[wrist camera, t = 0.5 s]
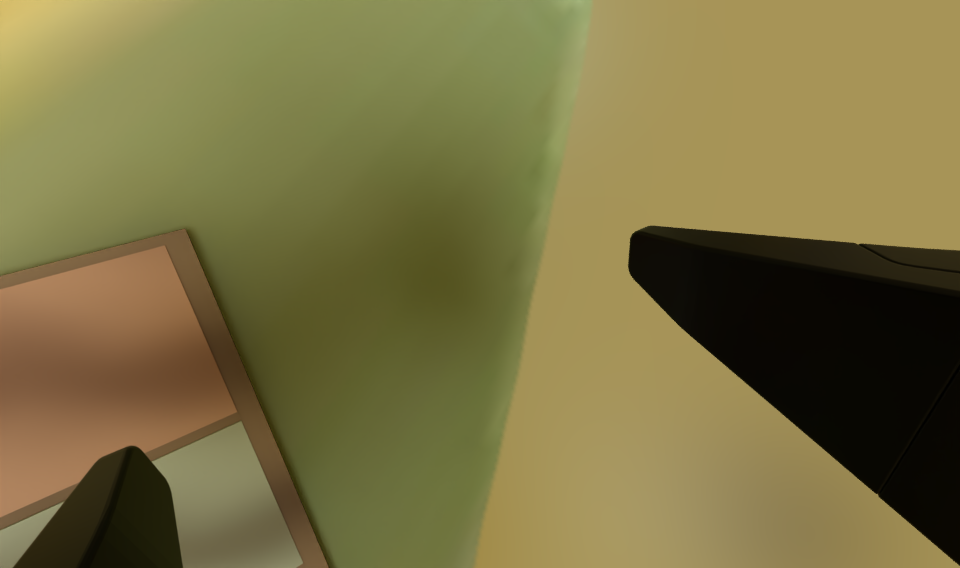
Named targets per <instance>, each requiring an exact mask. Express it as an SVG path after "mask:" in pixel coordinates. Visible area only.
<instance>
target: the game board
mask: <svg viewBox="0 0 960 568" xmlns="http://www.w3.org/2000/svg"><path fill="white" fill-rule="evenodd" d="M127 446H137V447H138V448H140V449H141V450H142V451H143V452H144V453H145V454H146V456H147V457H148V458H149V459H150V460H151V462H152V463H153V464H154V465H155V466H156V468H157V469H158V470H159V471H160V472H161V474H162V475H163V476H164V477H165V478H166V480H167V482H168V484H169V486H170V489H171V492H172V498H173V504H174V511H175V518H176V524H177V531H178V537H179V544H180V550H181V557H182V563H183V568H329V566H328V564H327V562H326V559H325V557H324V555H323V552H322V550H321V548H320V545H319V543H318V541H317V538H316V536H315V533H314V531H313V529H312V526H311V524H310V522H309V519H308V517H307V515H306V512H305V510H304V507H303V505H302V503H301V500H300V498H299V496H298V493H297V491H296V489H295V486H294V484H293V481H292V479H291V477H290V474H289V472H288V470H287V467H286V465H285V463H284V460H283V458H282V455H281V453H280V451H279V448H278V446H277V444H276V441H275V439H274V437H273V434H272V432H271V429H270V427H269V425H268V422H267V420H266V418H265V415H264V413H263V411H262V408H261V406H260V403H259V401H258V399H257V396H256V394H255V392H254V389H253V387H252V385H251V382H250V380H249V378H248V375H247V373H246V370H245V368H244V366H243V363H242V361H241V359H240V356H239V354H238V352H237V349H236V347H235V344H234V342H233V340H232V337H231V335H230V333H229V330H228V328H227V326H226V323H225V321H224V318H223V316H222V314H221V311H220V309H219V307H218V304H217V302H216V300H215V297H214V295H213V292H212V290H211V288H210V285H209V283H208V281H207V278H206V276H205V274H204V271H203V269H202V266H201V264H200V262H199V259H198V257H197V255H196V252H195V250H194V248H193V245H192V243H191V240H190V238H189V236H188V233H187V231H186V229H181V230H178V231H174V232H170V233H166V234H162V235H158V236H154V237H150V238H146V239H143V240H139V241H135V242H131V243H127V244H123V245H119V246H115V247H111V248H107V249H104V250H100V251H96V252H92V253H88V254H84V255H80V256H76V257H72V258H69V259H65V260H61V261H57V262H53V263H49V264H45V265H41V266H37V267H34V268H30V269H26V270H22V271H18V272H14V273H10V274H6V275H2V276H0V568H13V566H14V565H15V564H16V563H17V561H18V560H19V559H20V558H21V556H22V555H23V554H24V552H25V551H26V550H27V549H28V547H29V546H30V545H31V544H32V542H33V541H34V540H35V538H36V537H37V536H38V535H39V533H40V532H41V531H42V529H43V528H44V527H45V526H46V524H47V523H48V522H49V521H50V519H51V518H52V517H53V515H54V514H55V513H56V512H57V510H58V509H59V508H60V507H61V505H62V504H63V503H64V501H65V500H66V499H67V498H68V496H69V495H70V494H71V493H72V491H73V490H74V489H75V487H76V486H77V485H78V484H79V482H80V481H81V480H82V478H83V477H84V476H85V475H86V473H87V472H88V471H89V470H90V468H91V467H92V466H93V464H94V463H95V462H96V461H97V460H98V459H100V458H101V457H103V456H105V455H108V454H110V453H113V452H115V451H117V450H120V449H122V448H124V447H127Z"/></svg>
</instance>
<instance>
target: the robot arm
mask: <svg viewBox="0 0 960 568" xmlns="http://www.w3.org/2000/svg"><path fill="white" fill-rule="evenodd" d="M628 263H629V264H628V268H629V272H630V274H631V276H632V278H633V279H634V280H635V281H636V282H637V283H638V284H639V285H640V286H641V287H642V288H643V289H644V290H645V291H646V292H647V293H648V294H649V295H650V296H651V297H652V298H653V299H654V301H655V302H656V303H657V304H658V305H659V306H660V307H661V308H662V309H663V310H664V311H665V312H666V313H667V314H668V315H669V316H670V317H671V318H672V319H673V320H674V321H675V322H676V323H677V324H678V325H679V326H680V327H681V328H682V329H683V330H685V331H686V332H687V333H688V334H689V335H690V336H691V337H693V338H694V339H695V340H696V341H697V342H698V343H700V344H701V345H702V346H703V347H704V348H705V349H707V350H708V351H709V352H710V353H711V354H712V355H714V356H715V357H716V358H717V359H718V360H719V361H721V362H722V363H723V364H724V365H725V366H727V367H728V368H729V369H730V370H731V371H732V372H734V373H735V374H736V375H737V376H738V377H740V378H741V379H742V380H743V381H744V382H745V383H746V384H748V385H749V386H750V387H751V388H753V389H754V390H755V391H756V392H757V393H758V394H760V396H762V397H763V398H764V399H765V400H766V401H768V402H769V403H770V404H771V405H772V406H774V407H775V408H776V409H777V410H778V411H780V412H781V413H782V414H783V415H784V416H785V417H786V418H788V419H789V420H790V421H791V422H792V423H793V424H795V425H796V426H797V427H798V428H799V429H800V430H802V431H803V432H804V433H805V434H806V435H808V436H809V437H810V438H811V439H812V440H813V441H814V442H816V443H817V444H818V445H819V446H821V447H822V448H823V449H824V450H825V451H826V452H827V453H829V454H830V455H831V456H832V457H833V458H834V459H836V460H837V461H838V462H839V463H840V464H842V465H843V466H844V467H845V468H846V469H847V470H849V471H850V472H851V473H852V474H853V475H854V476H856V477H857V478H858V479H859V480H860V481H862V482H863V483H864V484H865V485H866V486H867V487H868V488H870V489H871V490H872V491H873V492H874V493H876V494H878V496H879V497H880V498H881V499H882V500H883V501H884V502H885V503H887V504H888V505H889V506H890V507H891V508H893V509H894V510H895V511H896V512H897V513H898V514H899V515H901V516H902V517H903V518H904V519H906V520H907V521H908V522H909V523H910V524H911V525H912V526H914V527H915V528H916V529H917V530H918V531H919V532H921V533H922V534H923V535H924V536H925V537H926V538H928V539H929V540H930V541H931V542H932V543H934V544H935V545H936V546H937V547H938V548H939V549H941V550H942V551H943V552H944V553H945V554H946V555H948V556H949V557H950V558H951V559H952V560H953V561H955V562H956V563H957V564H958V565H959V566H960V251H957V250H941V249H924V248H910V247H897V246H884V245H872V244H859V245H858V244H856V243H847V242H836V241H824V240H813V239H801V238H790V237H778V236H766V235H755V234H742V233H731V232H720V231H707V230H696V229H685V228H673V227H661V226H647V227H645V228H643V229H640V230H638V231H635V232H634V233H633V234H632V236H631V238H630V250H629V262H628ZM13 568H183V563H182V557H181V550H180V544H179V537H178V531H177V524H176V518H175V511H174V504H173V498H172V492H171V489H170V486H169V484H168V482H167V480H166V478H165V477H164V476H163V475H162V474H161V472H160V471H159V470H158V469H157V468H156V466H155V465H154V464H153V463H152V462H151V460H150V459H149V458H148V457H147V456H146V454H145V453H144V452H143V451H142V450H141V449H140V448H138V447H137V446H127V447H124V448H122V449H120V450H117V451H115V452H113V453H110V454H108V455H105V456H103V457H101V458H100V459H98V460H97V461H96V462H95V463H94V464H93V466H92V467H91V468H90V470H89V471H88V472H87V473H86V475H85V476H84V477H83V478H82V480H81V481H80V482H79V484H78V485H77V486H76V487H75V489H74V490H73V491H72V493H71V494H70V495H69V496H68V498H67V499H66V500H65V501H64V503H63V504H62V505H61V507H60V508H59V509H58V510H57V512H56V513H55V514H54V515H53V517H52V518H51V519H50V521H49V522H48V523H47V524H46V526H45V527H44V528H43V529H42V531H41V532H40V533H39V535H38V536H37V537H36V538H35V540H34V541H33V542H32V544H31V545H30V546H29V547H28V549H27V550H26V551H25V552H24V554H23V555H22V556H21V558H20V559H19V560H18V561H17V563H16V564H15V565H14V566H13Z"/></svg>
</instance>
